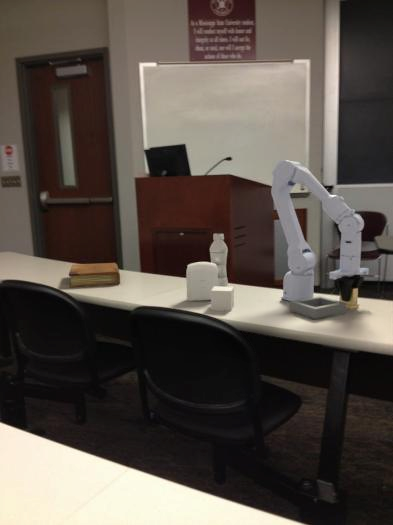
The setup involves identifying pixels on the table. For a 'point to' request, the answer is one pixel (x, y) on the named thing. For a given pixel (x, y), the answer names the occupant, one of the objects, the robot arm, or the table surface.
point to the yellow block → (352, 299)
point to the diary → (94, 274)
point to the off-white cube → (222, 298)
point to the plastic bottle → (219, 258)
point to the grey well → (317, 307)
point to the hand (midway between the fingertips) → (348, 300)
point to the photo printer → (201, 280)
